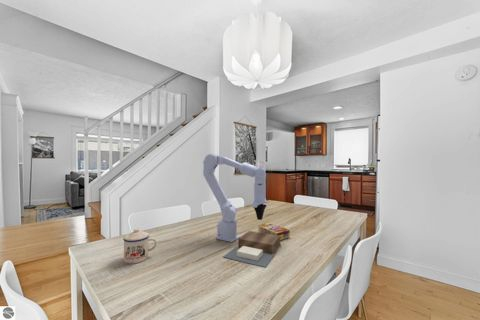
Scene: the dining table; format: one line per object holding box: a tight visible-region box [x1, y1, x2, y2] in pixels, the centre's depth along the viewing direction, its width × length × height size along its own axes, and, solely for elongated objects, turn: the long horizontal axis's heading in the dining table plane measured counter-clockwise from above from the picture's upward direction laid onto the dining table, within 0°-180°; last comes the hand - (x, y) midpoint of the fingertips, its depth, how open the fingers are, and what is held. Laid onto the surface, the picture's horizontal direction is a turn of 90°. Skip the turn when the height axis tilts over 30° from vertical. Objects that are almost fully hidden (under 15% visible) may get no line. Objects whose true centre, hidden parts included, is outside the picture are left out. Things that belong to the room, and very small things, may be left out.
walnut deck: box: [237, 230, 281, 255], centre depth 94 cm, size 16×12×4 cm
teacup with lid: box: [123, 228, 158, 265], centre depth 81 cm, size 12×9×12 cm
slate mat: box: [222, 246, 275, 268], centre depth 83 cm, size 18×11×1 cm, turn 64°
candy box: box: [257, 222, 291, 241], centre depth 109 cm, size 9×4×15 cm
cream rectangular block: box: [237, 246, 263, 261], centre depth 83 cm, size 9×6×2 cm, turn 63°
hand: (259, 219), depth 103 cm, fingers closed
